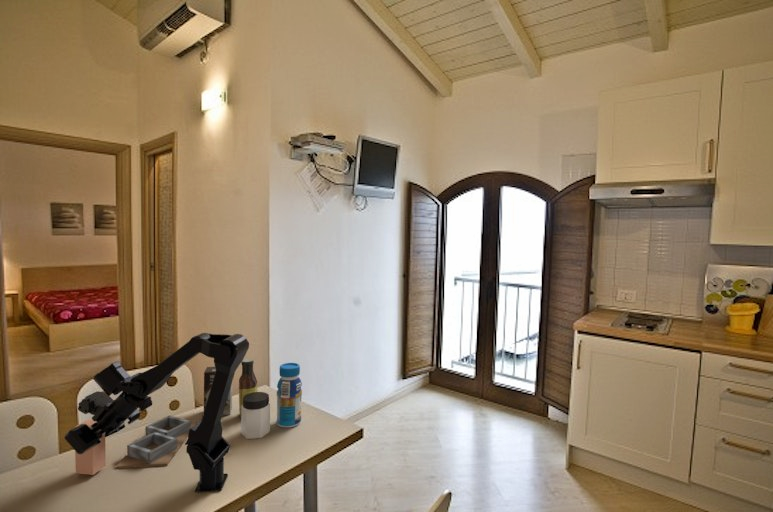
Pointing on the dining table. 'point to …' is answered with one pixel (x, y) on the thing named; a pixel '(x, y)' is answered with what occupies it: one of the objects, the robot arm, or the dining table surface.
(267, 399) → the jar
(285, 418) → the beverage bottle
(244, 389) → the sauce bottle
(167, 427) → the cap board
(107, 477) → the dining table surface
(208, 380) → the coffee box
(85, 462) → the pink rectangular block
